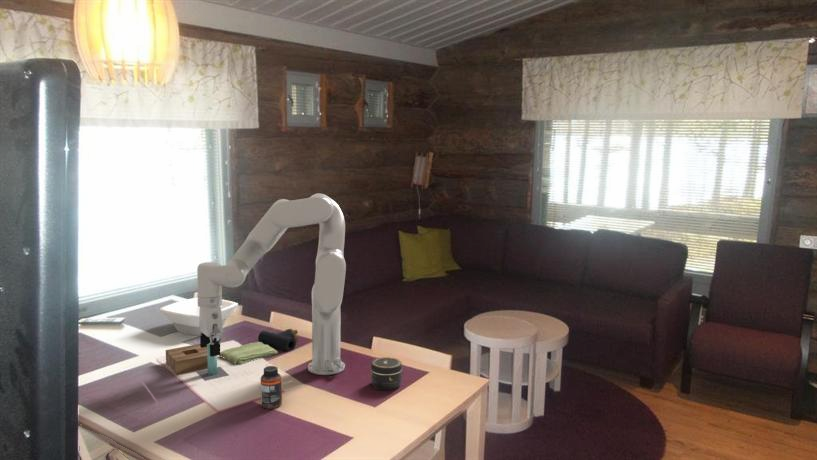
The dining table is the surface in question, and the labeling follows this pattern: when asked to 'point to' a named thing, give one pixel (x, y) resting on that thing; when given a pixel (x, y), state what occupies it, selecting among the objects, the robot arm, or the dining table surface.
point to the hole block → (187, 359)
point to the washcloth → (248, 352)
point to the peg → (211, 362)
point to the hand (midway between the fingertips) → (210, 351)
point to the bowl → (192, 314)
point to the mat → (208, 377)
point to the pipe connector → (279, 339)
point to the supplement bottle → (271, 388)
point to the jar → (386, 373)
